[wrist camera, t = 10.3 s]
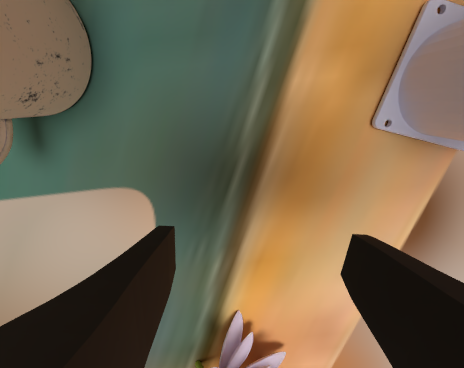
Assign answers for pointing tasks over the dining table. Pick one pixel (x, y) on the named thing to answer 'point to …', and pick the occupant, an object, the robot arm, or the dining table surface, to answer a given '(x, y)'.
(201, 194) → the dining table surface
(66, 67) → the teacup with lid
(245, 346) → the water lily
